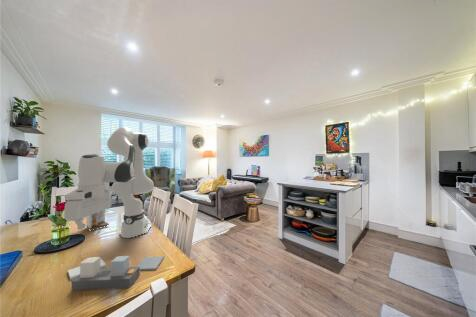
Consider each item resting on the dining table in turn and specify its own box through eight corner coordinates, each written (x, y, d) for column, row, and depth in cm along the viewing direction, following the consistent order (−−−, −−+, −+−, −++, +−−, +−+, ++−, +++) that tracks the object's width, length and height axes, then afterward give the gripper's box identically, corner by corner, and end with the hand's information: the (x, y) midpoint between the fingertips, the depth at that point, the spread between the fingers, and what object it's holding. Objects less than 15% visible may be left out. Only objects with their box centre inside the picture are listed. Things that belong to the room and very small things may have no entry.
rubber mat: (144, 258, 89) (144, 257, 89) (163, 257, 90) (163, 256, 90) (134, 270, 79) (134, 269, 79) (156, 269, 80) (156, 268, 80)
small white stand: (90, 231, 125) (90, 183, 126) (86, 228, 132) (87, 182, 133) (108, 226, 135) (109, 182, 135) (104, 223, 141) (104, 181, 142)
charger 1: (88, 276, 73) (88, 257, 73) (100, 275, 73) (100, 257, 74) (80, 282, 69) (80, 262, 69) (92, 282, 70) (93, 262, 70)
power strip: (88, 277, 75) (88, 267, 75) (139, 274, 76) (139, 265, 77) (71, 290, 67) (71, 279, 67) (129, 287, 68) (129, 277, 69)
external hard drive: (67, 273, 78) (101, 261, 88) (70, 281, 73) (105, 267, 83) (67, 270, 78) (101, 258, 88) (70, 277, 73) (105, 264, 83)
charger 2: (117, 270, 74) (117, 256, 74) (129, 269, 74) (129, 255, 74) (110, 276, 70) (111, 261, 70) (123, 275, 70) (123, 261, 70)
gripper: (102, 188, 83) (101, 217, 82) (60, 196, 62) (59, 234, 62) (115, 188, 83) (115, 217, 83) (78, 196, 63) (77, 234, 62)
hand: (90, 224), depth 72 cm, fingers open, 8 cm apart
